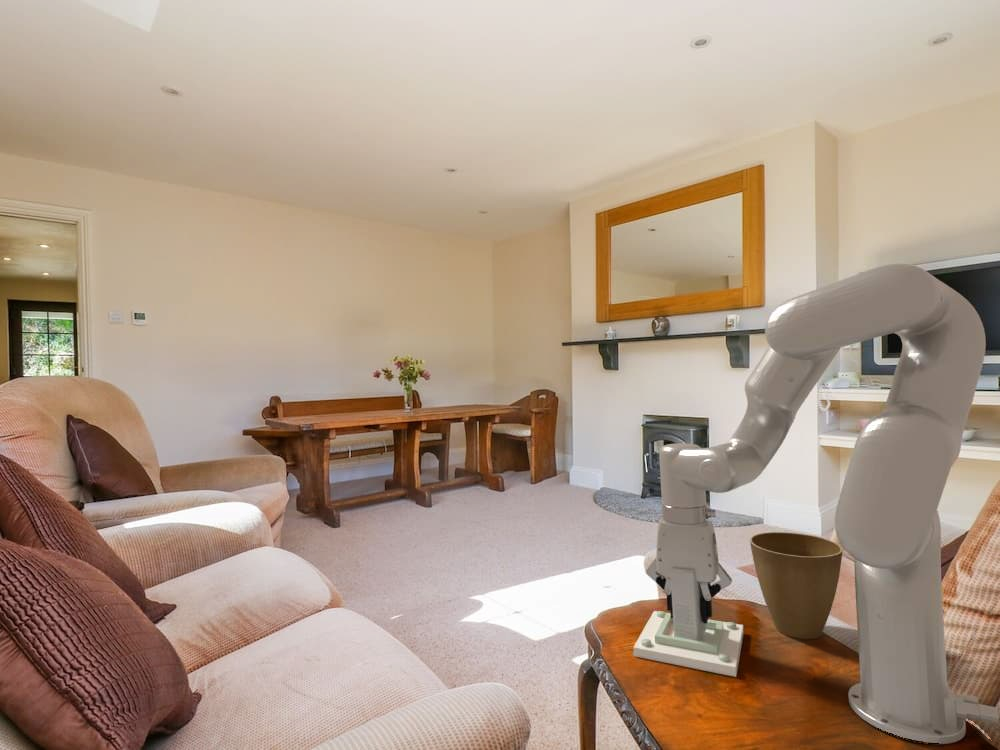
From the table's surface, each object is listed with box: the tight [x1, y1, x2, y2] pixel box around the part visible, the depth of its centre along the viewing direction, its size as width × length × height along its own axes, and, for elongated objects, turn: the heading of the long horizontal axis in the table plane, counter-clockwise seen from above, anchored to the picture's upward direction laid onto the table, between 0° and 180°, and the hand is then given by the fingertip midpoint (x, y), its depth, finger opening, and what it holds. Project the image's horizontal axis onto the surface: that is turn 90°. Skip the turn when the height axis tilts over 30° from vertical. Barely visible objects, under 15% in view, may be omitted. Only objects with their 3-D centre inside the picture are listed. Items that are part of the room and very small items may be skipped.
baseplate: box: [632, 610, 744, 678], centre depth 94 cm, size 16×16×3 cm
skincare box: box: [670, 568, 707, 641], centre depth 94 cm, size 6×4×12 cm
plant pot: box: [749, 531, 844, 640], centre depth 97 cm, size 15×15×16 cm
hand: (689, 616), depth 94 cm, fingers closed on skincare box, 4 cm apart
